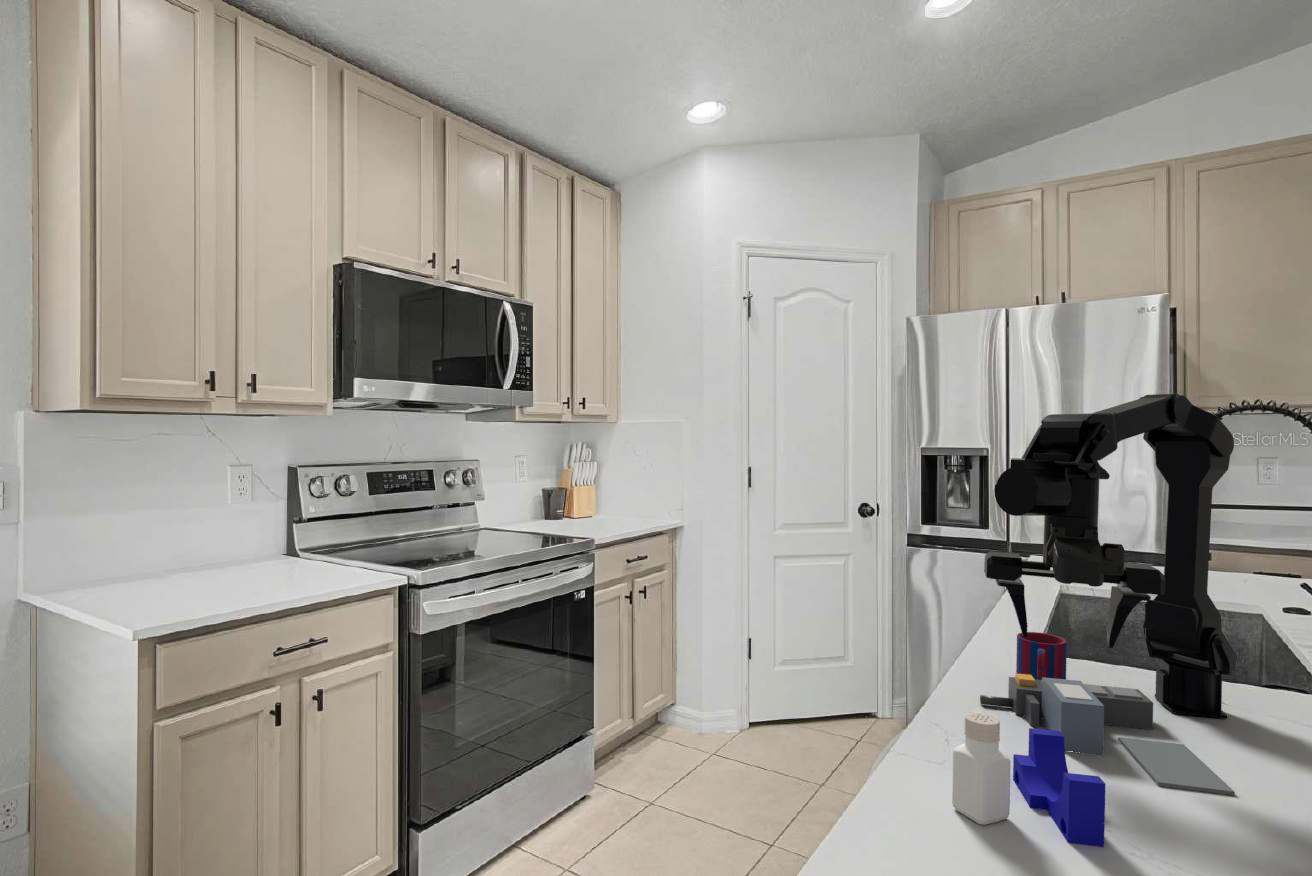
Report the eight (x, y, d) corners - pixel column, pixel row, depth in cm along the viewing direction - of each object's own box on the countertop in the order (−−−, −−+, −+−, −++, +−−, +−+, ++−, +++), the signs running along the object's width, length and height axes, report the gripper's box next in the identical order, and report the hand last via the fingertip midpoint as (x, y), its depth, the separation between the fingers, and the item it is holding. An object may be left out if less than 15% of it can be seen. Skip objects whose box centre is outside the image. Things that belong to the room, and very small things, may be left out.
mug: (1067, 680, 110) (1068, 636, 110) (1061, 699, 102) (1062, 652, 102) (1019, 671, 114) (1020, 629, 114) (1009, 689, 106) (1010, 643, 106)
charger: (1079, 726, 93) (1080, 679, 93) (1103, 756, 84) (1104, 704, 84) (1041, 722, 94) (1042, 676, 94) (1060, 751, 85) (1061, 700, 85)
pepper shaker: (982, 828, 68) (983, 728, 68) (949, 808, 71) (951, 713, 71) (1012, 820, 69) (1014, 722, 69) (978, 800, 73) (980, 707, 73)
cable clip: (1012, 781, 78) (1014, 726, 78) (1058, 786, 77) (1059, 730, 77) (1050, 842, 66) (1051, 777, 66) (1104, 849, 65) (1105, 783, 65)
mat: (1183, 747, 86) (1183, 744, 86) (1234, 795, 75) (1234, 791, 75) (1118, 739, 88) (1118, 736, 88) (1157, 785, 77) (1157, 781, 77)
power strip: (1137, 715, 96) (1138, 683, 96) (1164, 740, 88) (1164, 706, 88) (977, 698, 102) (978, 668, 102) (988, 721, 94) (989, 688, 94)
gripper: (991, 515, 84) (987, 647, 84) (1182, 527, 77) (1177, 672, 77) (986, 508, 94) (981, 626, 94) (1153, 518, 87) (1149, 646, 87)
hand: (1066, 641), depth 88 cm, fingers open, 9 cm apart
